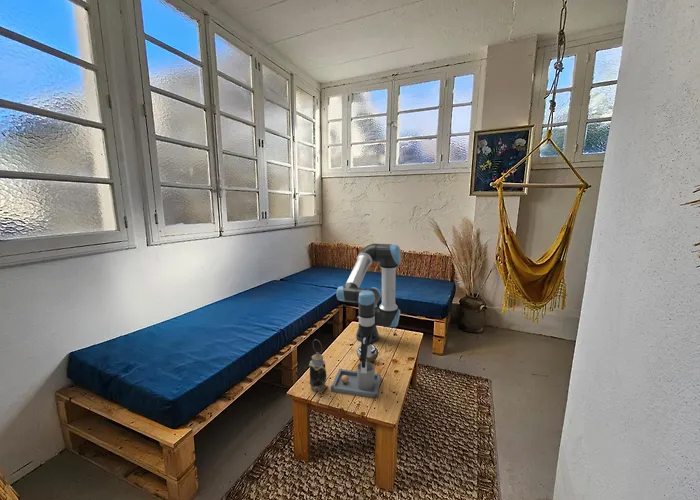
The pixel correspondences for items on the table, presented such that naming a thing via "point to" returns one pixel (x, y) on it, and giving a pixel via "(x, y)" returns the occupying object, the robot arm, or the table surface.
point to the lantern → (317, 371)
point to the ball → (344, 378)
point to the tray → (354, 384)
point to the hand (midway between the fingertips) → (366, 364)
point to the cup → (366, 377)
